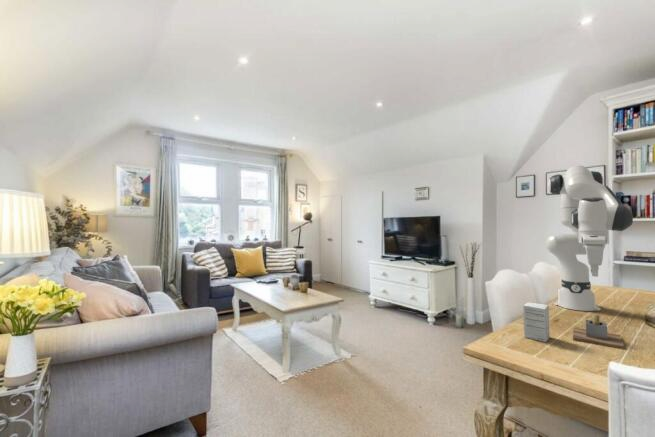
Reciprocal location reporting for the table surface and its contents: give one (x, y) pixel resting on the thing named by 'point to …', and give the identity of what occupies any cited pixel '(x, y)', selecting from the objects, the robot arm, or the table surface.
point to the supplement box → (536, 321)
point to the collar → (596, 330)
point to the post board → (612, 340)
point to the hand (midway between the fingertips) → (594, 274)
